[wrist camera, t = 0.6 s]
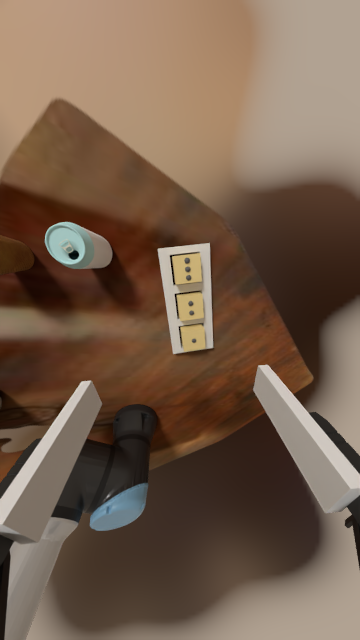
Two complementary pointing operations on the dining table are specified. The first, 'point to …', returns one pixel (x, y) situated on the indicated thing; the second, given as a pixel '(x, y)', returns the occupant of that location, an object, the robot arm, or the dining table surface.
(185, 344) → the one pip key
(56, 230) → the can
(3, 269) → the disposable coffee cup
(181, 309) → the two pip key
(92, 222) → the dining table surface
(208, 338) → the keypad base
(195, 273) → the three pip key
